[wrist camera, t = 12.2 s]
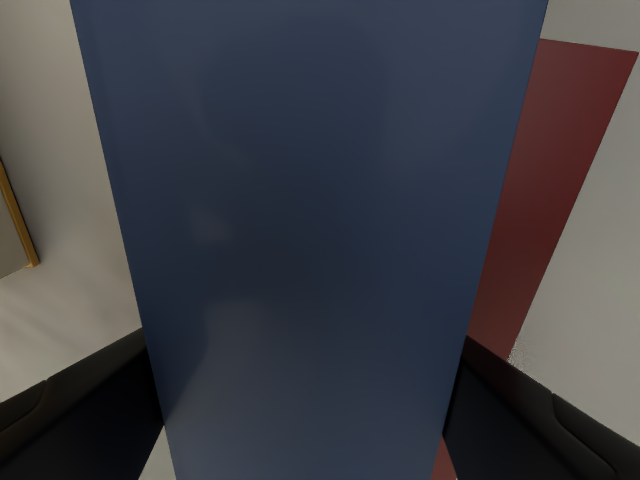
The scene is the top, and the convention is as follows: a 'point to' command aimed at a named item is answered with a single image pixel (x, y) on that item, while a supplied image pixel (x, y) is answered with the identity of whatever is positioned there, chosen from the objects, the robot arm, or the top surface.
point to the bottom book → (541, 186)
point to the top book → (13, 233)
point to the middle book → (306, 215)
